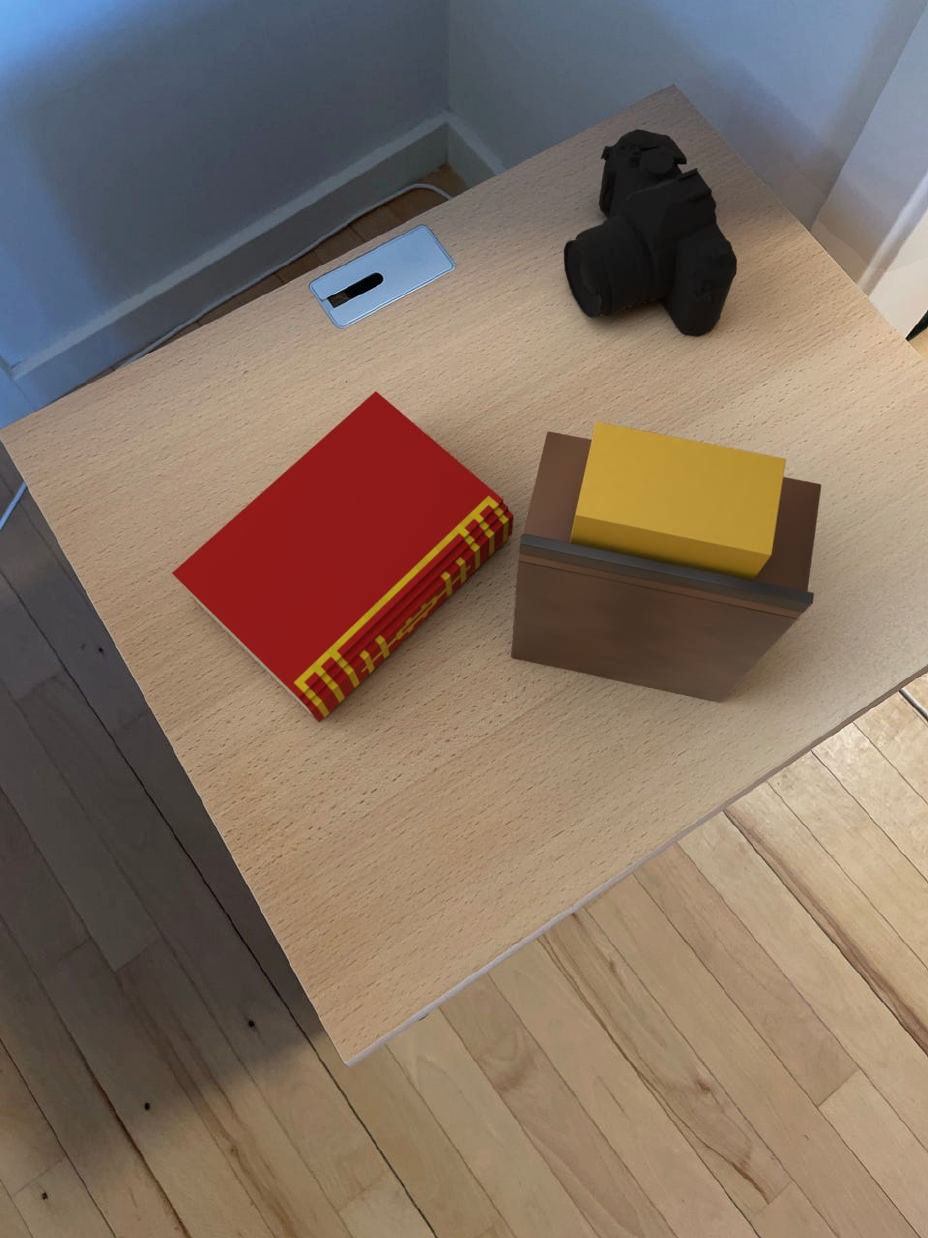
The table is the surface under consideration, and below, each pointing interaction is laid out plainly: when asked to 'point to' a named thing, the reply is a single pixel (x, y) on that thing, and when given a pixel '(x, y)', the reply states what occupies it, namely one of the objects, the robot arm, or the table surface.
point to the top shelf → (770, 591)
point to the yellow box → (678, 501)
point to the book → (346, 554)
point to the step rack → (638, 632)
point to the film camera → (652, 239)
